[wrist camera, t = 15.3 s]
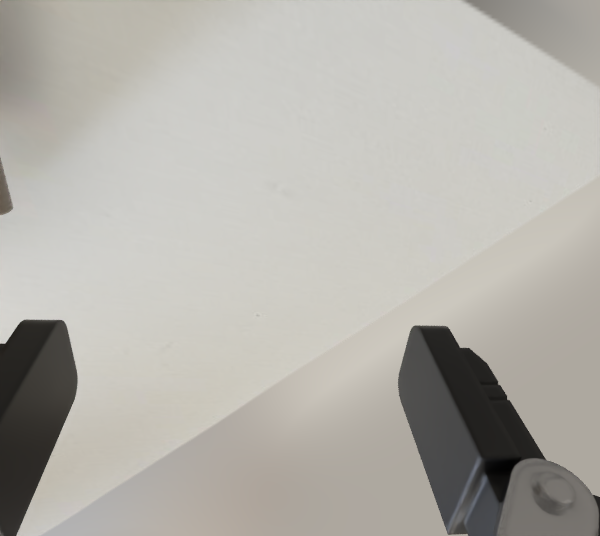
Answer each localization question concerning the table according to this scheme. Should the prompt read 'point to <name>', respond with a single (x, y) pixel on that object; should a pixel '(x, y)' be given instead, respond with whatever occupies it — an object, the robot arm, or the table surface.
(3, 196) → the drawer
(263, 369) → the table surface
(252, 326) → the table surface
